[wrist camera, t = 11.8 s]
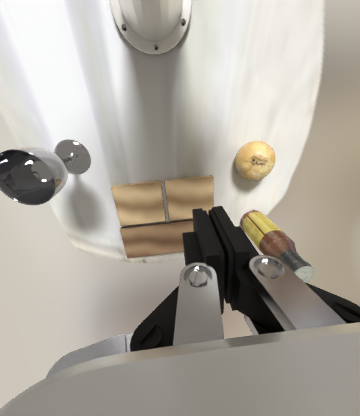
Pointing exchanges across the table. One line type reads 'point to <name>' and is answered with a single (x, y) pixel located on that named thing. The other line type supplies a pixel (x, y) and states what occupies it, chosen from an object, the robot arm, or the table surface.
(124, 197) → the oak plank
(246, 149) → the onion
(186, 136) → the table surface
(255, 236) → the sauce bottle
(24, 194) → the wine glass
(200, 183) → the oak plank
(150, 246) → the walnut board
